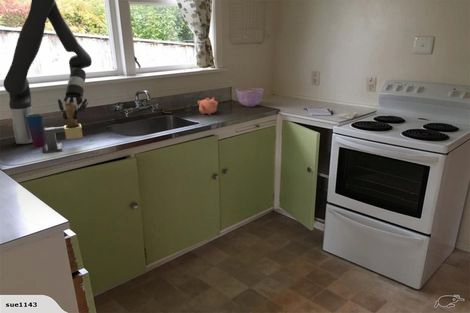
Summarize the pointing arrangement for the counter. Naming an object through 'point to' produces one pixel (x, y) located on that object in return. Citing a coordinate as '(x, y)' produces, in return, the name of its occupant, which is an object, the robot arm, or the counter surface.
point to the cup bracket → (51, 137)
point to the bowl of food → (249, 96)
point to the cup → (36, 129)
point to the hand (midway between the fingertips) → (70, 118)
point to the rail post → (70, 114)
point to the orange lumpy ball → (207, 106)
